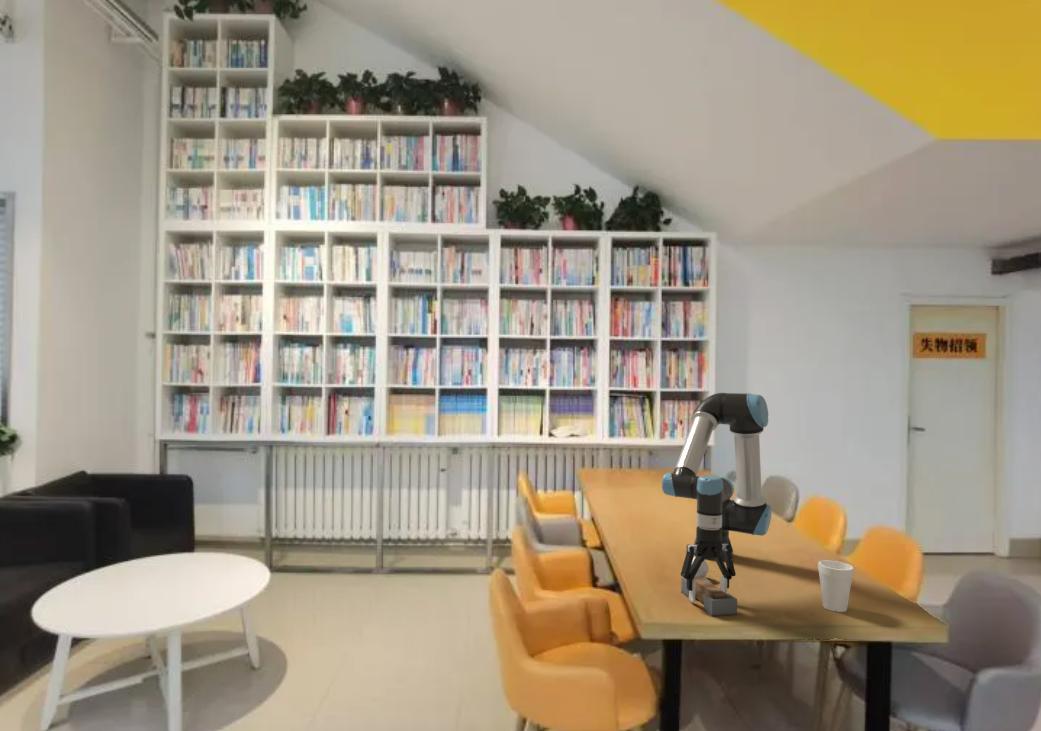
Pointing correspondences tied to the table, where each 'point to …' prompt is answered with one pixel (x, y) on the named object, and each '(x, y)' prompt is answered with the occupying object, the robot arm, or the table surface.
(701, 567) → the ball
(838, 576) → the foam cup
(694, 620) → the table surface
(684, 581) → the cap
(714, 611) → the cap
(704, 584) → the slat
